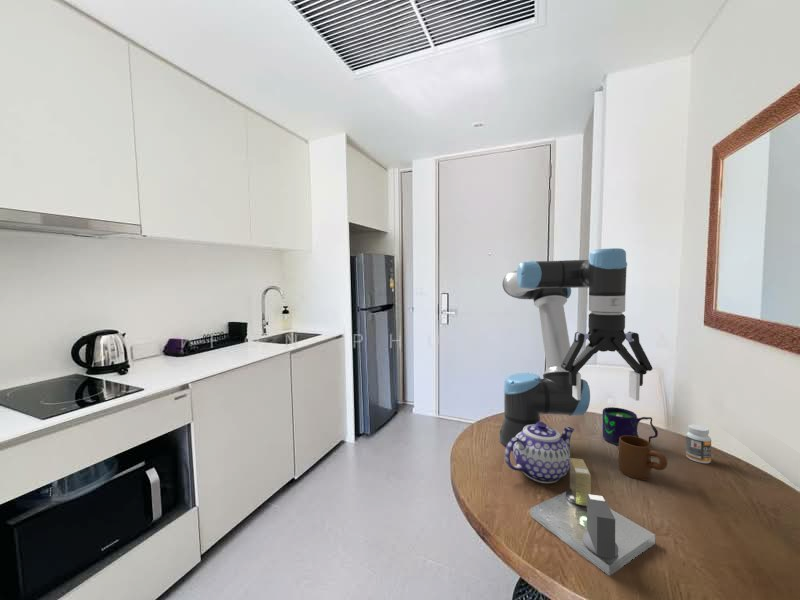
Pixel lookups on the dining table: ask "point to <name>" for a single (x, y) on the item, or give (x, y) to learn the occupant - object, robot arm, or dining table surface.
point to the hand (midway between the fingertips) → (604, 398)
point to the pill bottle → (698, 444)
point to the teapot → (540, 452)
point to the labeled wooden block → (579, 482)
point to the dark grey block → (600, 528)
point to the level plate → (572, 525)
